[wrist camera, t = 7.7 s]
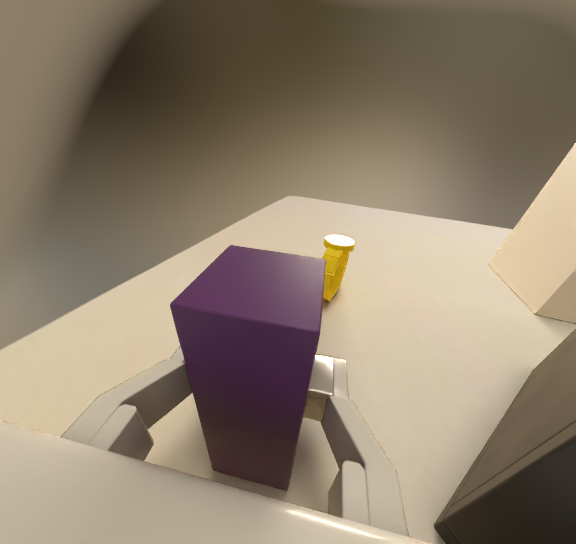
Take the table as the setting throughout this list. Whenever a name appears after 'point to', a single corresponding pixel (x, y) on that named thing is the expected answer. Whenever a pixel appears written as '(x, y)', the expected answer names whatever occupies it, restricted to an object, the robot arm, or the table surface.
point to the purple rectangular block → (252, 356)
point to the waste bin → (524, 466)
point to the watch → (335, 262)
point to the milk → (545, 248)
